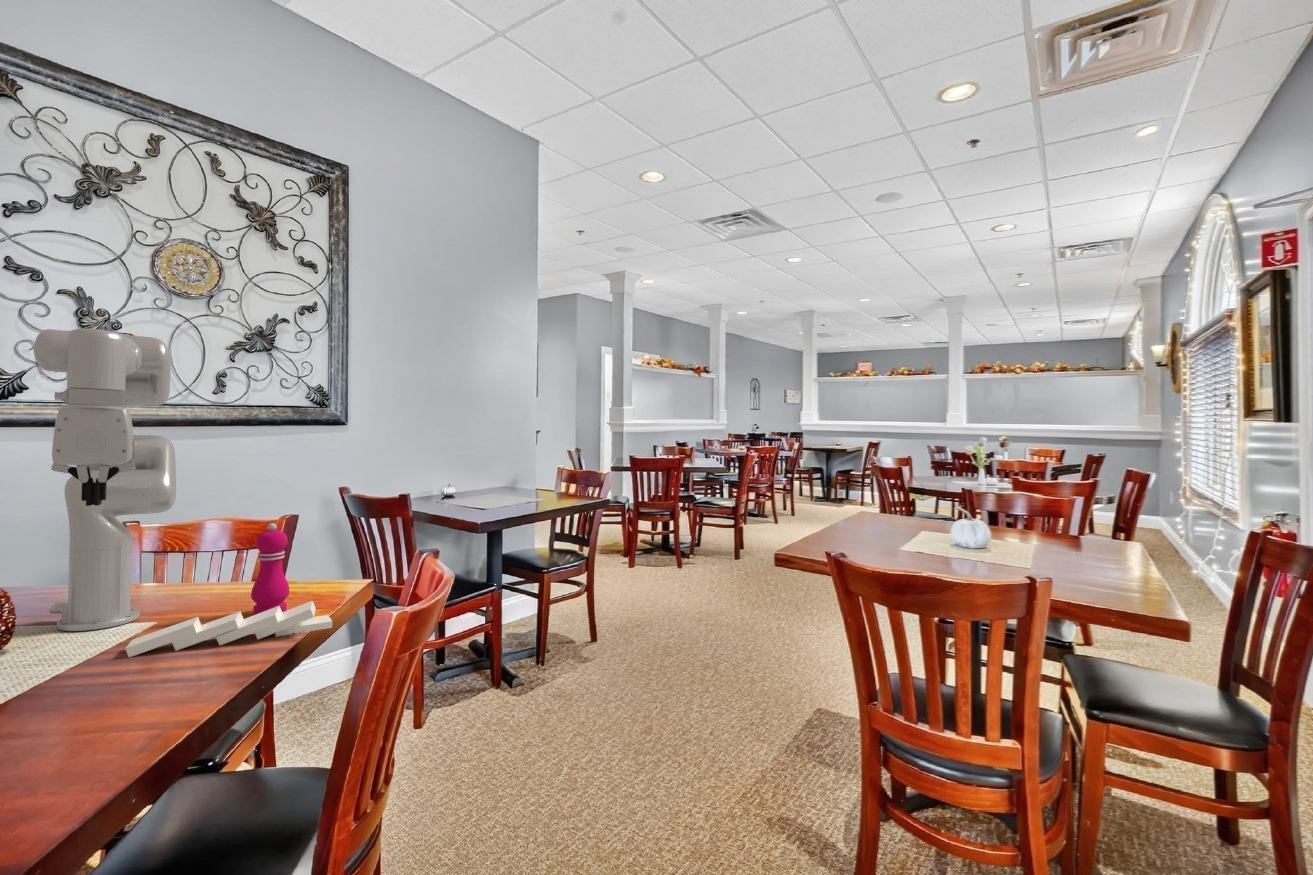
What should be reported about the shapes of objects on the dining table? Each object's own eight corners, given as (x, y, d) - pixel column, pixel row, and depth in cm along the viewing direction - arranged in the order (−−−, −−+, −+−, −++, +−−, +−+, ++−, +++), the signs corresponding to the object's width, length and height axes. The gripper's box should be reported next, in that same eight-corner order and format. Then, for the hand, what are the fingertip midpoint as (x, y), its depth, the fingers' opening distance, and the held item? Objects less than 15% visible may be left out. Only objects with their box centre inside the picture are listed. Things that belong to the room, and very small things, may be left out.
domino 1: (171, 642, 109) (234, 619, 113) (180, 632, 114) (240, 611, 118) (175, 650, 109) (238, 627, 113) (183, 641, 114) (243, 619, 118)
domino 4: (275, 629, 118) (332, 621, 125) (272, 622, 122) (327, 614, 129) (275, 638, 118) (332, 629, 125) (272, 631, 122) (327, 623, 129)
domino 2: (215, 637, 112) (274, 614, 116) (222, 626, 117) (279, 605, 121) (219, 645, 113) (278, 622, 116) (226, 635, 117) (282, 613, 121)
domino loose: (125, 648, 106) (193, 624, 110) (132, 639, 110) (197, 616, 115) (128, 657, 106) (196, 633, 111) (136, 648, 110) (201, 625, 115)
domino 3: (254, 631, 115) (310, 609, 119) (258, 621, 120) (312, 600, 124) (257, 639, 116) (313, 617, 120) (261, 629, 121) (315, 608, 124)
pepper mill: (296, 608, 137) (298, 521, 137) (273, 618, 130) (275, 526, 130) (267, 607, 138) (269, 520, 138) (242, 616, 130) (244, 524, 130)
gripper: (29, 397, 98) (27, 509, 98) (149, 402, 106) (146, 505, 106) (42, 398, 104) (39, 504, 104) (154, 403, 112) (151, 501, 112)
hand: (93, 504), depth 105 cm, fingers closed
